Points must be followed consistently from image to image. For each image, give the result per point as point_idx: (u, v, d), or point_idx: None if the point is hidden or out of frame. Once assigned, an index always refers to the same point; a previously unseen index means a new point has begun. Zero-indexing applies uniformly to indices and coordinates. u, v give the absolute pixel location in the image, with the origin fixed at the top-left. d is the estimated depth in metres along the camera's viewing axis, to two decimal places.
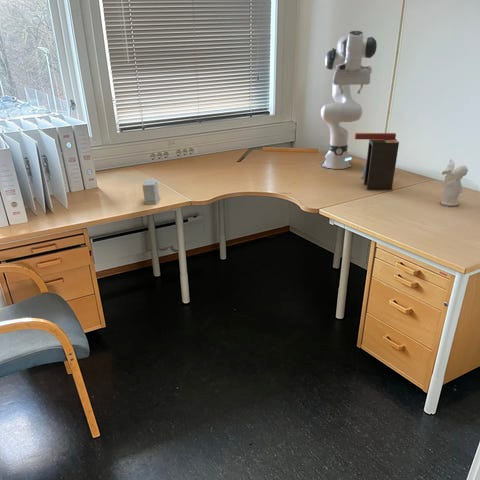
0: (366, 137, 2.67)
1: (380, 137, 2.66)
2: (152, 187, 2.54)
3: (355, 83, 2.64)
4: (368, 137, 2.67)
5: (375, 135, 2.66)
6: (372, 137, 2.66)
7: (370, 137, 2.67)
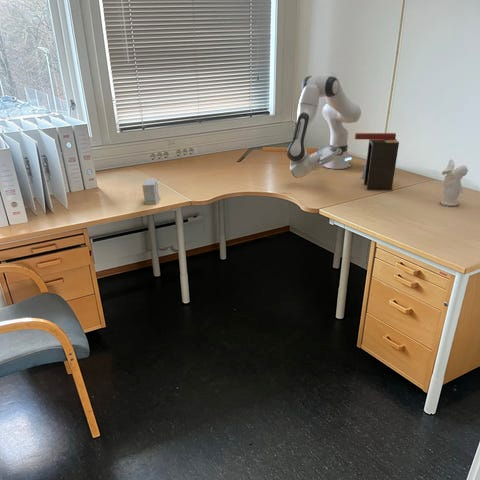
0: (366, 137, 2.67)
1: (380, 137, 2.66)
2: (152, 187, 2.54)
3: None
4: (368, 137, 2.67)
5: (375, 135, 2.66)
6: (372, 137, 2.66)
7: (370, 137, 2.67)
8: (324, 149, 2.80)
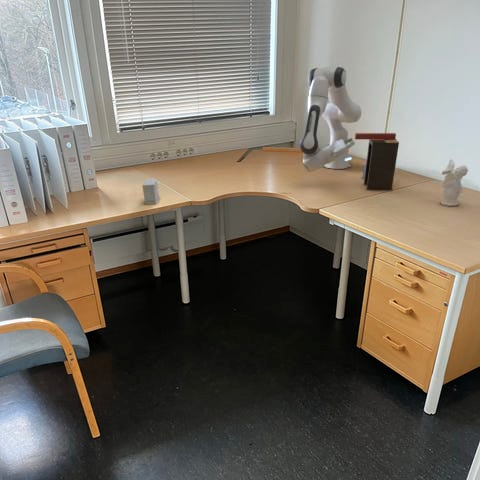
0: (366, 137, 2.67)
1: (380, 137, 2.66)
2: (152, 187, 2.54)
3: None
4: (368, 137, 2.67)
5: (375, 135, 2.66)
6: (372, 137, 2.66)
7: (370, 137, 2.67)
8: (337, 142, 2.77)
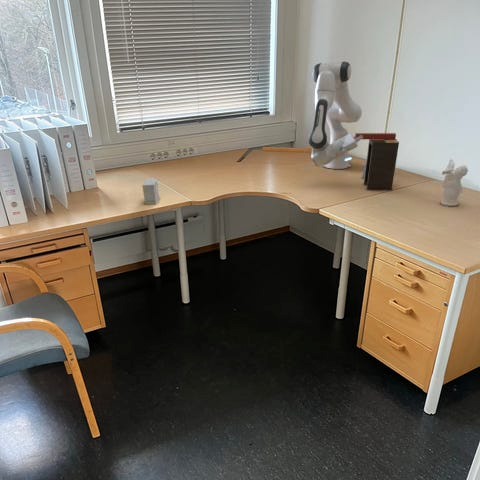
0: (366, 137, 2.67)
1: (380, 137, 2.66)
2: (152, 187, 2.53)
3: None
4: (368, 137, 2.67)
5: (375, 135, 2.66)
6: (372, 137, 2.66)
7: (370, 137, 2.67)
8: (346, 137, 2.75)
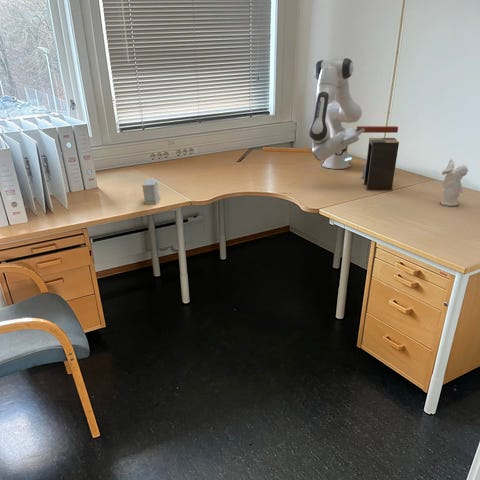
0: (368, 130, 2.62)
1: (382, 130, 2.62)
2: (152, 187, 2.54)
3: None
4: (370, 130, 2.62)
5: (377, 128, 2.61)
6: (374, 130, 2.62)
7: (372, 130, 2.62)
8: (347, 130, 2.71)
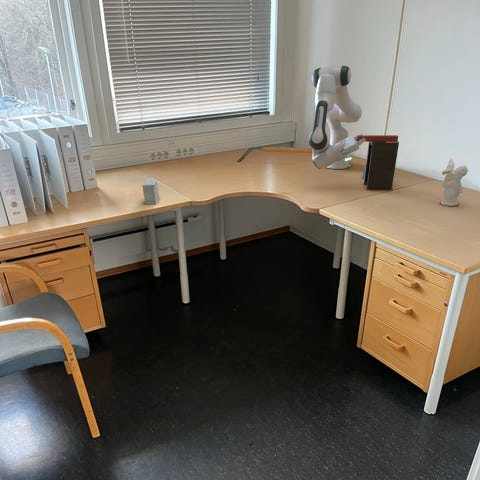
0: (368, 139, 2.62)
1: (382, 139, 2.61)
2: (152, 187, 2.54)
3: None
4: (370, 139, 2.61)
5: (377, 137, 2.61)
6: (374, 139, 2.61)
7: (372, 139, 2.61)
8: (347, 139, 2.70)
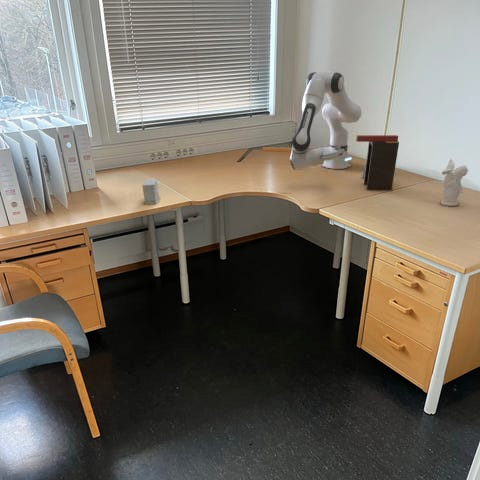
0: (368, 139, 2.62)
1: (382, 139, 2.61)
2: (152, 187, 2.54)
3: None
4: (370, 139, 2.61)
5: (377, 137, 2.61)
6: (374, 139, 2.61)
7: (372, 139, 2.61)
8: (326, 148, 2.75)
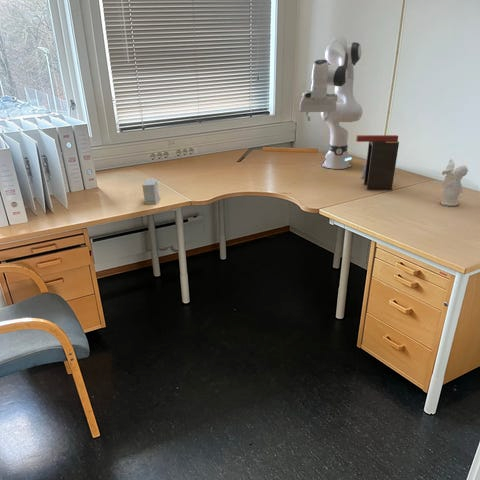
0: (368, 139, 2.62)
1: (382, 139, 2.61)
2: (152, 187, 2.54)
3: (321, 110, 2.65)
4: (370, 139, 2.61)
5: (377, 137, 2.61)
6: (374, 139, 2.61)
7: (372, 139, 2.61)
8: None
